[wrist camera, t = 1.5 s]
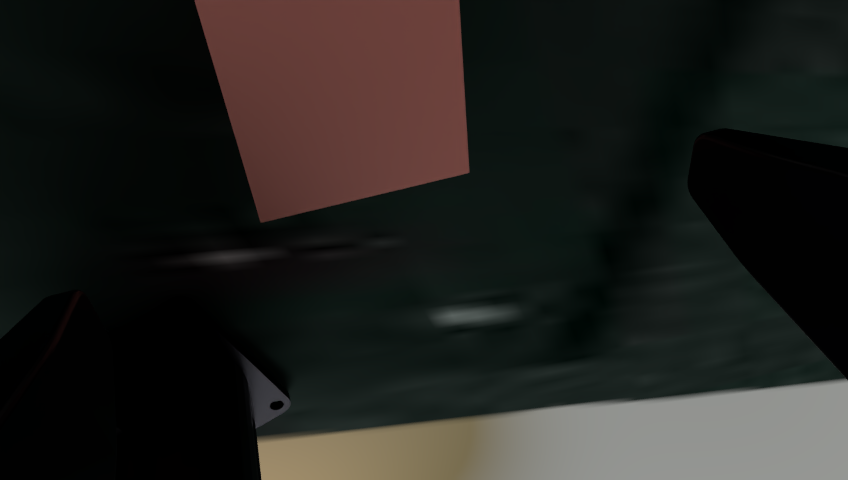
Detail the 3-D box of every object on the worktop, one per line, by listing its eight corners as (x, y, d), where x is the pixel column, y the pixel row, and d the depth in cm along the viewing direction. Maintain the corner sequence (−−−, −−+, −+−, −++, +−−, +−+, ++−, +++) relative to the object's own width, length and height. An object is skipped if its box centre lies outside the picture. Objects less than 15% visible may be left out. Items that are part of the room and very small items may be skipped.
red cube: (390, -85, 16) (456, -53, 12) (411, 98, 19) (469, 172, 15) (191, -55, 15) (192, -9, 11) (245, 133, 18) (260, 223, 14)
